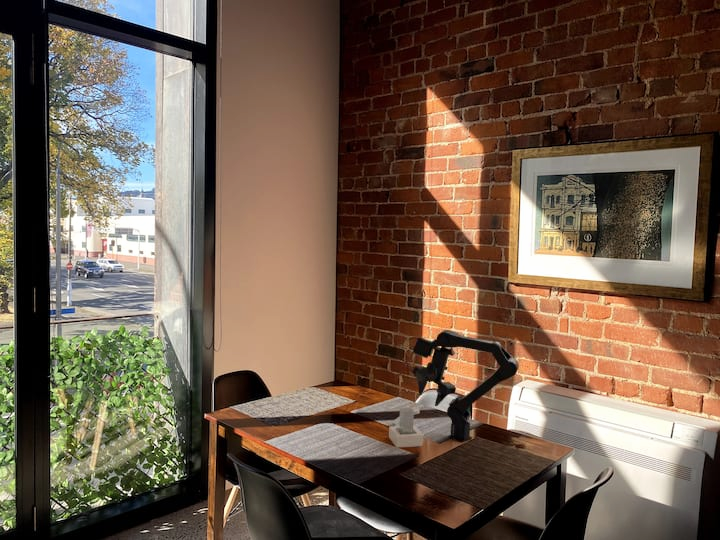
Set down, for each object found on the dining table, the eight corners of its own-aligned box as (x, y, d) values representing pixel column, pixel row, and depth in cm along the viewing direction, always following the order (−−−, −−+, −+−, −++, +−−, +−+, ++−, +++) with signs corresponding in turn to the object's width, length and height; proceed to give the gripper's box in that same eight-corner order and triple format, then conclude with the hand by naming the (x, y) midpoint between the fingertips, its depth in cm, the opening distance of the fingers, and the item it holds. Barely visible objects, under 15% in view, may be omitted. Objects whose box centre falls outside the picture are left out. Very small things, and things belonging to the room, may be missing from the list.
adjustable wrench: (394, 429, 227) (394, 425, 227) (380, 426, 230) (380, 422, 230) (421, 412, 249) (421, 408, 248) (407, 409, 252) (408, 405, 252)
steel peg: (409, 439, 216) (410, 407, 215) (412, 443, 212) (413, 411, 211) (398, 439, 215) (400, 408, 214) (402, 443, 211) (403, 411, 210)
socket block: (414, 435, 220) (414, 425, 220) (423, 445, 210) (423, 435, 210) (388, 437, 218) (389, 426, 217) (396, 447, 208) (397, 436, 208)
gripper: (407, 352, 222) (397, 390, 225) (440, 373, 208) (429, 413, 211) (428, 352, 229) (418, 389, 232) (461, 372, 215) (450, 411, 218)
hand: (428, 400), depth 223 cm, fingers open, 9 cm apart
